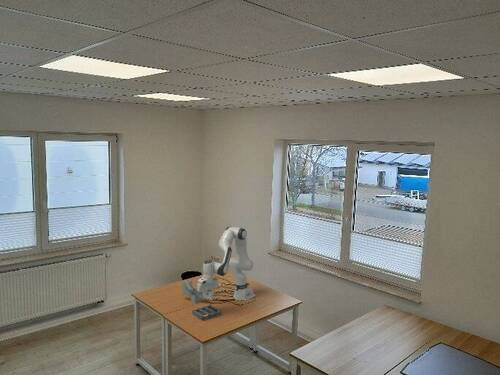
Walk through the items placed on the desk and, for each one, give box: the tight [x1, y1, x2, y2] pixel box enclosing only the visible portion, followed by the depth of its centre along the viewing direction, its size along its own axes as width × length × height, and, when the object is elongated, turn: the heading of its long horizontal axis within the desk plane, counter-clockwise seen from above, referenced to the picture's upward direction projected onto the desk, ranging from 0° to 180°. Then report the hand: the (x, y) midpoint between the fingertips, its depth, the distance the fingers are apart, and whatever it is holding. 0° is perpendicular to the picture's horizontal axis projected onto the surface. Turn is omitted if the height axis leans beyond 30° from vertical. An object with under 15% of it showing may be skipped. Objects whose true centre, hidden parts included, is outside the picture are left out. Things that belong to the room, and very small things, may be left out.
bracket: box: [181, 280, 209, 305], centre depth 362 cm, size 28×7×20 cm, turn 67°
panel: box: [203, 290, 214, 301], centre depth 334 cm, size 2×12×7 cm, turn 39°
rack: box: [192, 304, 222, 322], centre depth 337 cm, size 19×17×4 cm
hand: (207, 294), depth 334 cm, fingers closed on panel, 2 cm apart
